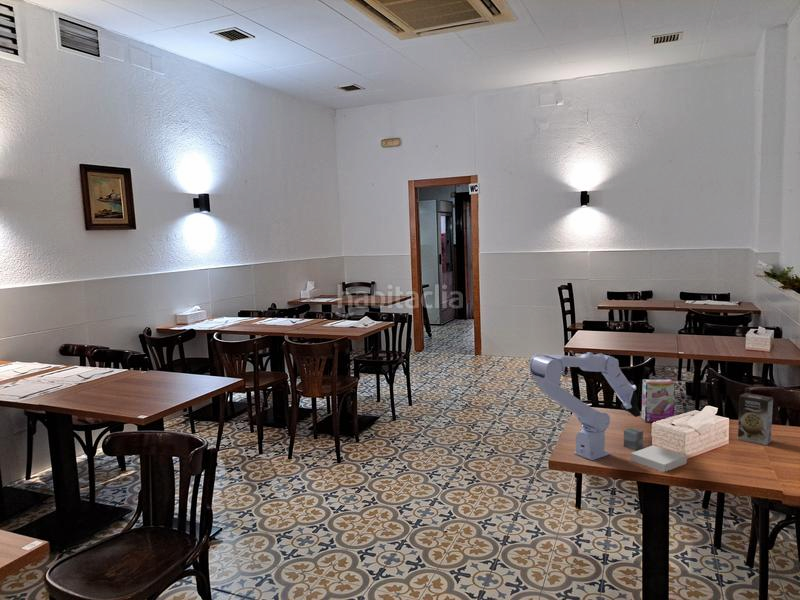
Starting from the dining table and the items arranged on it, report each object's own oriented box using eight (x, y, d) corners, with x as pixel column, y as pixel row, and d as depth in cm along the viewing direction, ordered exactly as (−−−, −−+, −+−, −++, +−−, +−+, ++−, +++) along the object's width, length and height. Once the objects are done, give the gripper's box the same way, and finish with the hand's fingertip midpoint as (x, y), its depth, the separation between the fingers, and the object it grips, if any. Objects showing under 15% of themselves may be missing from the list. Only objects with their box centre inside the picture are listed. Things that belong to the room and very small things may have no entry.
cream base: (664, 472, 176) (664, 464, 176) (630, 460, 186) (630, 453, 186) (686, 463, 182) (686, 455, 182) (653, 452, 193) (653, 445, 192)
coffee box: (737, 439, 202) (738, 395, 200) (743, 435, 206) (744, 392, 204) (766, 445, 195) (767, 400, 193) (772, 441, 199) (773, 396, 198)
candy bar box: (645, 422, 223) (645, 382, 221) (641, 418, 228) (641, 379, 226) (674, 422, 222) (675, 382, 220) (670, 418, 227) (670, 378, 225)
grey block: (634, 450, 195) (635, 433, 194) (623, 446, 199) (623, 430, 198) (642, 447, 197) (643, 431, 197) (631, 443, 201) (631, 427, 201)
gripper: (632, 391, 187) (650, 418, 192) (626, 364, 199) (644, 390, 203) (611, 399, 191) (630, 425, 195) (608, 371, 202) (625, 396, 207)
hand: (636, 407), depth 199 cm, fingers open, 7 cm apart
